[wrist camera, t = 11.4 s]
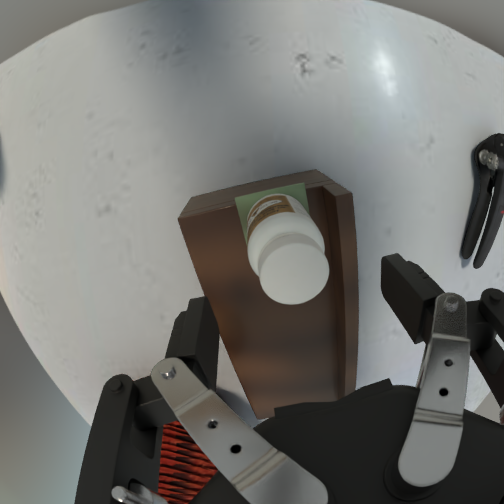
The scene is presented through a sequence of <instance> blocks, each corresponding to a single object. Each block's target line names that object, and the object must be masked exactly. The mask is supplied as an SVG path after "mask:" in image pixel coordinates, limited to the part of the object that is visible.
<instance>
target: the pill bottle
mask: <svg viewBox="0 0 504 504" xmlns="http://www.w3.org/2000/svg"><path fill="white" fill-rule="evenodd" d="M247 249H248V250H247V251H248V258H249V262H250V265H251V267H252V269H253V270H254V272H255V273H256V274H257V275H258V276H259V279H260V283H261V286H262V288H263V290H264V292H265V293H266V294H267V295H268V296H269V297H270V298H271V299H273V300H275V301H277V302H279V303H282V304H291V305H292V304H300V303H304V302H306V301H308V300H310V299H312V298H314V297H315V296H316V295H318V294H319V293H320V292H321V290H322V289H323V288H324V286H325V285H326V282H327V280H328V276H329V264H328V261H327V258H326V256H325V255H324V251H325V246H324V240H323V237H322V235H321V233H320V231H319V229H318V227H317V226H316V224H315V223H314V221H313V220H312V219H311V217H310V216H309V214H308V213H307V211H306V210H305V209H304V207H303V206H302V204H301V203H300V202H299V201H298V200H296V199H295V198H293V197H291V196H289V195H285V194H271V195H267V196H265V197H263V198H261V199H260V200H258V201H257V202H256V203H255V204H254V205H253V207H252V208H251V210H250V212H249V214H248V218H247Z"/></svg>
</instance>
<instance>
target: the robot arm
mask: <svg viewBox="0 0 504 504" xmlns="http://www.w3.org/2000/svg"><path fill="white" fill-rule="evenodd" d="M381 291H382V294H383V297H384V298H385V300H386V301H387V303H388V304H389V306H390V307H391V309H392V310H393V312H394V313H395V315H396V316H397V318H398V319H399V321H400V322H401V324H402V325H403V327H404V328H405V330H406V331H407V333H408V334H409V336H410V337H411V339H412V340H413V342H414V344H417V343H420V342H423V341H424V342H425V344H426V345H425V349H424V354H423V358H422V363H421V367H420V371H419V375H418V379H417V383H416V386H415V387H413V386H407V385H392V383H391V381H390V379H389V378H388V379H385V380H382V381H379V382H376V383H373V384H370V385H367V386H364V387H361V388H360V389H358V390H356V391H354V392H352V393H351V394H349V395H347V396H345V397H343V398H341V399H339V400H337V401H332V402H302V403H297V404H292V405H287V406H282V407H276V408H274V413H275V416H273V417H271V418H269V419H267V420H265V421H263V422H261V423H260V424H258V425H257V426H256V427H254V428H253V429H252V428H251V427H250V426H249V425H248V424H247V423H246V422H245V421H244V420H243V419H241V418H240V417H239V416H238V415H237V414H236V413H235V412H234V411H233V410H232V409H231V408H230V407H229V406H228V405H227V404H226V403H225V402H224V401H223V400H222V399H221V398H220V397H219V396H218V395H217V394H216V393H215V392H216V379H217V364H218V350H219V337H220V333H219V326H218V323H217V320H216V317H215V315H214V312H213V310H212V307H211V304H210V302H209V299H208V298H207V296H204V297H199V298H194V299H190V301H189V305H188V309H187V311H183V312H181V313H180V314H179V316H178V317H177V318H176V319H175V322H174V326H173V330H172V333H171V337H170V340H169V344H168V348H167V352H166V356H165V359H164V360H162V361H160V362H158V363H157V364H156V365H155V366H154V368H153V369H152V371H151V375H150V376H147V377H144V378H142V379H139V380H136V381H133V380H132V379H131V378H130V377H129V376H128V375H125V374H119V375H116V376H113V377H112V378H110V379H109V380H108V381H107V382H106V383H105V385H104V387H103V390H102V393H101V396H100V399H99V403H98V406H97V409H96V413H95V416H94V420H93V423H92V427H91V431H90V434H89V438H88V442H87V446H86V450H85V454H84V458H83V463H82V467H81V472H80V477H79V481H78V486H77V492H76V498H75V504H168V503H167V501H166V499H165V498H164V497H163V496H161V495H160V494H158V483H159V469H160V457H161V446H162V436H163V426H164V425H165V424H168V423H171V422H174V421H177V420H179V422H180V423H181V424H182V426H183V427H184V428H185V430H186V431H187V432H188V434H189V435H190V436H191V437H192V439H193V440H194V441H195V442H196V444H197V445H198V446H199V447H200V449H201V450H202V451H203V452H204V453H205V455H206V456H207V457H208V458H209V459H210V460H211V462H212V463H213V464H214V465H215V466H216V467H217V468H218V471H217V472H216V473H215V474H214V475H213V477H212V478H211V479H210V480H209V481H208V482H207V483H206V485H205V486H204V487H203V488H202V489H201V490H200V491H199V492H198V493H197V495H196V496H195V497H194V498H193V499H192V500H191V501H190V502H189V503H188V504H504V350H503V349H502V347H501V346H500V345H499V343H498V342H497V341H496V339H495V337H496V335H497V334H498V335H499V337H500V338H501V339H502V341H503V342H504V292H502V291H500V290H498V289H494V288H489V289H486V290H484V291H483V292H482V294H481V298H480V300H477V301H468V302H466V301H465V299H464V298H463V297H462V296H460V295H458V294H455V293H445V292H444V291H443V290H442V289H441V288H440V287H439V285H438V284H437V283H436V282H435V281H434V280H433V279H432V278H431V277H429V275H428V274H427V273H426V272H424V270H423V269H422V268H421V267H420V266H419V265H417V264H415V263H413V262H411V261H407V262H406V261H405V260H404V259H403V258H402V257H401V256H400V255H399V254H398V253H395V254H391V255H388V256H384V257H382V260H381ZM470 356H471V357H472V359H473V360H474V362H475V364H476V365H477V367H478V369H479V370H480V372H481V374H482V375H483V377H484V379H485V380H486V382H487V384H488V386H489V388H490V389H491V391H492V393H493V395H494V396H495V399H496V400H497V402H498V404H499V406H500V408H501V410H500V423H497V422H494V421H492V420H489V419H487V418H485V417H482V416H480V415H478V414H475V413H473V412H471V411H468V410H466V409H464V404H465V398H466V390H467V382H468V372H469V360H470Z"/></svg>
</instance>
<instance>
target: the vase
mask: <svg viewBox="0 0 504 504" xmlns="http://www.w3.org/2000/svg"><path fill="white" fill-rule="evenodd" d="M217 471H218V468H217V467H216V466H215V465H214V464H213V463H212V462H211V460H210V459H209V458H208V457H207V456H206V455H205V453H204V452H203V451H202V450H201V449H200V447H199V446H198V445H197V444H196V442H195V441H194V440H193V439H192V437H191V436H190V435H189V434H188V432H187V431H186V430H185V428H184V427H183V426H182V424H181V423H180V422H179V420H177V421H174V422H171V423H168V424H165V425H164V426H163V436H162V446H161V457H160V469H159V483H158V494H160V495H161V496H163V497H164V498H165V499H166V501H167V503H168V504H188V503H189V502H190V501H191V500H192V499H193V498H194V497H195V496H196V495H197V493H198V492H199V491H200V490H201V489H202V488H203V487H204V486H205V485H206V483H207V482H208V481H209V480H210V479H211V478H212V477H213V475H214V474H215V473H216V472H217Z"/></svg>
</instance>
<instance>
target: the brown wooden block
mask: <svg viewBox="0 0 504 504" xmlns="http://www.w3.org/2000/svg"><path fill="white" fill-rule="evenodd" d="M271 194H285V195H289V196H291V197H293V198H295V199H296V200H298V201H299V202H300V203H301V204H302V206H303V207H304V209H305V210H306V211H307V213H308V214H309V216H310V217H311V219H312V220H313V221H314V223H315V224H316V226H317V227H318V229H319V231H320V233H321V235H322V237H323V240H324V246H325V251H324V255H325V256H326V258H327V261H328V264H329V276H328V280H327V282H326V285H325V286H324V288H323V289H322V290H321V292H320V293H319V294H318V295H316V296H315V297H314V298H312V299H310V300H308V301H306V302H304V303H300V304H292V305H291V304H282V303H279V302H277V301H275V300H273V299H271V298H270V297H269V296H268V295H267V294H266V293H265V292H264V290H263V288H262V286H261V283H260V279H259V276H258V275H257V274H256V273H255V272H254V270H253V269H252V267H251V265H250V262H249V258H248V251H247V250H248V249H247V218H248V214H249V212H250V210H251V208H252V207H253V205H254V204H255V203H256V202H257V201H258V200H260V199H261V198H263V197H265V196H267V195H271ZM178 222H179V225H180V228H181V231H182V234H183V237H184V240H185V242H186V245H187V248H188V251H189V254H190V257H191V260H192V262H193V265H194V268H195V271H196V273H197V276H198V279H199V282H200V284H201V287H202V290H203V292H204V295H205V296H207V298H208V299H209V302H210V304H211V307H212V310H213V312H214V315H215V317H216V320H217V323H218V326H219V333H220V336H221V338H222V340H223V343H224V345H225V348H226V350H227V352H228V355H229V357H230V360H231V362H232V364H233V367H234V369H235V371H236V373H237V376H238V378H239V380H240V383H241V385H242V387H243V389H244V392H245V394H246V396H247V398H248V400H249V403H250V405H251V407H252V409H253V411H254V413H255V415H256V418H257V419H258V420H259V419H266V418H271V417H273V416H275V413H274V408H276V407H282V406H287V405H292V404H297V403H302V402H332V401H337V400H339V399H341V398H343V397H345V396H347V395H349V394H351V393H352V392H354V391H355V388H356V375H357V357H358V328H359V290H358V260H357V242H356V228H355V216H354V206H353V196H352V193H351V192H350V191H348V190H347V189H346V188H344V187H343V186H341V185H340V184H338V183H336V182H335V181H333V180H332V179H331V178H329V177H328V176H326V175H324V174H323V173H321V172H320V171H318V170H317V169H315V170H310V171H304V172H299V173H294V174H289V175H284V176H279V177H275V178H270V179H265V180H261V181H256V182H252V183H247V184H243V185H239V186H235V187H230V188H226V189H222V190H218V191H214V192H210V193H206V194H202V195H199V196H195V197H191V199H190V200H189V202H188V203H187V205H186V206H185V208H184V209H183V211H182V212H181V214H180V216H179V218H178Z"/></svg>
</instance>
